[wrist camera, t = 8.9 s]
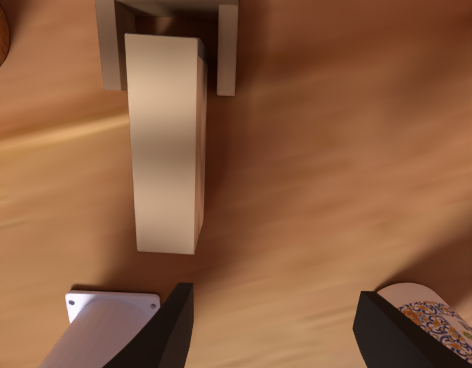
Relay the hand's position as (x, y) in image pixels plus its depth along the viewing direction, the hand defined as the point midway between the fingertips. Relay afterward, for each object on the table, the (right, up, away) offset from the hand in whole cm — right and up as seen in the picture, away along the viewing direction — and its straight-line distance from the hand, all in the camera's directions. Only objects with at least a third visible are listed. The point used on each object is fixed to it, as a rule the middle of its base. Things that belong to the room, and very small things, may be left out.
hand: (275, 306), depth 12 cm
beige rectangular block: (-6, +8, +8) cm, 13 cm away
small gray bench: (-5, +14, +6) cm, 16 cm away
